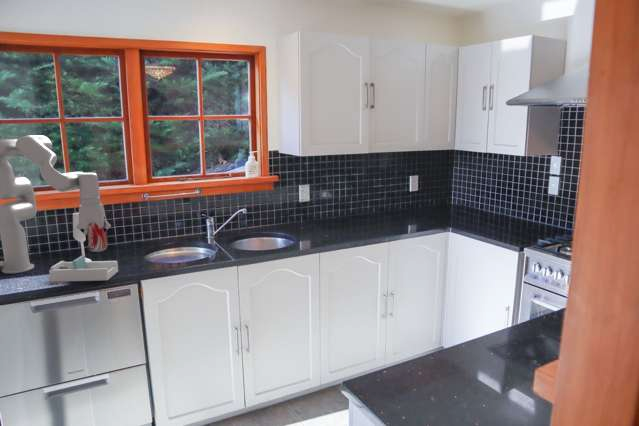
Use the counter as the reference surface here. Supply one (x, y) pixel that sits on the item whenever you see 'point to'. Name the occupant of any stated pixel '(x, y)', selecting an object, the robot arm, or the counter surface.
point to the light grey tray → (83, 271)
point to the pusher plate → (79, 263)
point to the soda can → (96, 237)
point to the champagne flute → (79, 234)
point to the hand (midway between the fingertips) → (95, 242)
